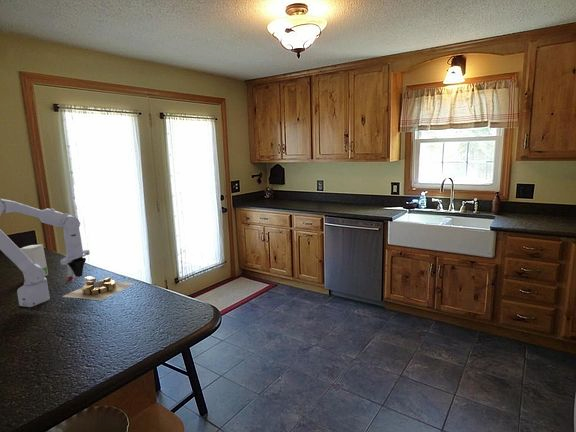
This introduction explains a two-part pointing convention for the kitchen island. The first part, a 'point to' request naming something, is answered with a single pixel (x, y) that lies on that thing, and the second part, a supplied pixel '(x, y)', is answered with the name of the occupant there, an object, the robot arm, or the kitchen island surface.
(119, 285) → the spindle board
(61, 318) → the kitchen island surface
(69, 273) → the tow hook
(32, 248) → the skincare box
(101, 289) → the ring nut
